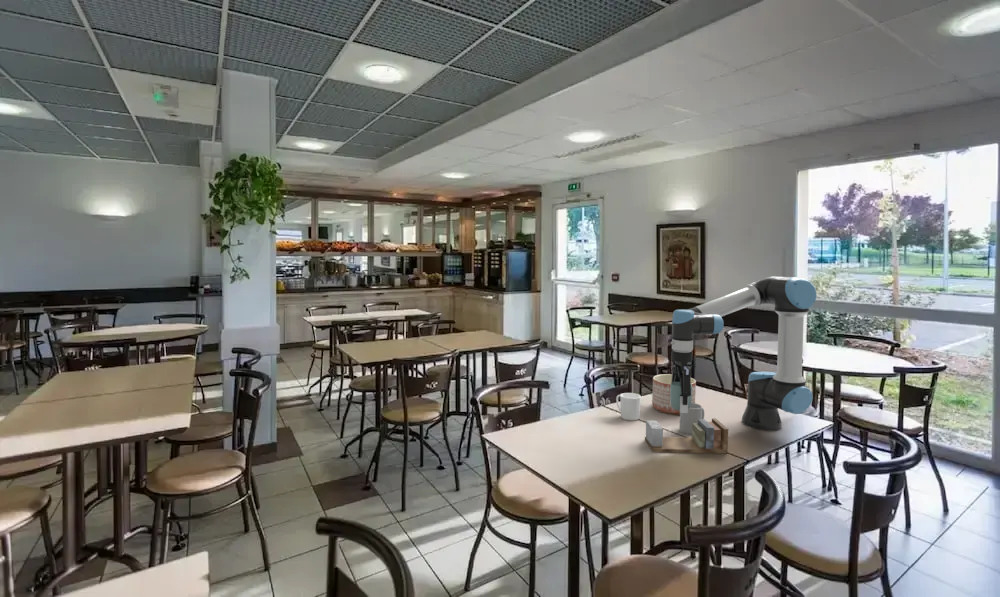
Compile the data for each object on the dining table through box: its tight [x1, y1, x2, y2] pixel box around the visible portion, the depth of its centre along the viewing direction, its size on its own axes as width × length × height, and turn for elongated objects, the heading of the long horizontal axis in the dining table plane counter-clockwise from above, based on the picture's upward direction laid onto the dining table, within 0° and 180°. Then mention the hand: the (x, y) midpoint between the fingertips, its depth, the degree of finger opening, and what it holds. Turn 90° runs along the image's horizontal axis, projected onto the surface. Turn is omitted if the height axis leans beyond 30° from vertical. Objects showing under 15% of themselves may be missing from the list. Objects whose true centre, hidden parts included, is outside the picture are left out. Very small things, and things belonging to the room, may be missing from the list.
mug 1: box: [615, 392, 642, 422], centre depth 221 cm, size 11×9×10 cm
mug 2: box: [679, 402, 705, 435], centre depth 206 cm, size 12×8×11 cm
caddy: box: [644, 417, 729, 454], centre depth 189 cm, size 28×12×9 cm, turn 88°
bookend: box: [645, 419, 664, 447], centre depth 189 cm, size 4×9×7 cm, turn 178°
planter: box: [651, 373, 697, 416], centre depth 232 cm, size 19×19×15 cm
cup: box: [670, 382, 692, 411], centre depth 187 cm, size 8×8×10 cm
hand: (680, 408), depth 188 cm, fingers closed on cup, 8 cm apart
